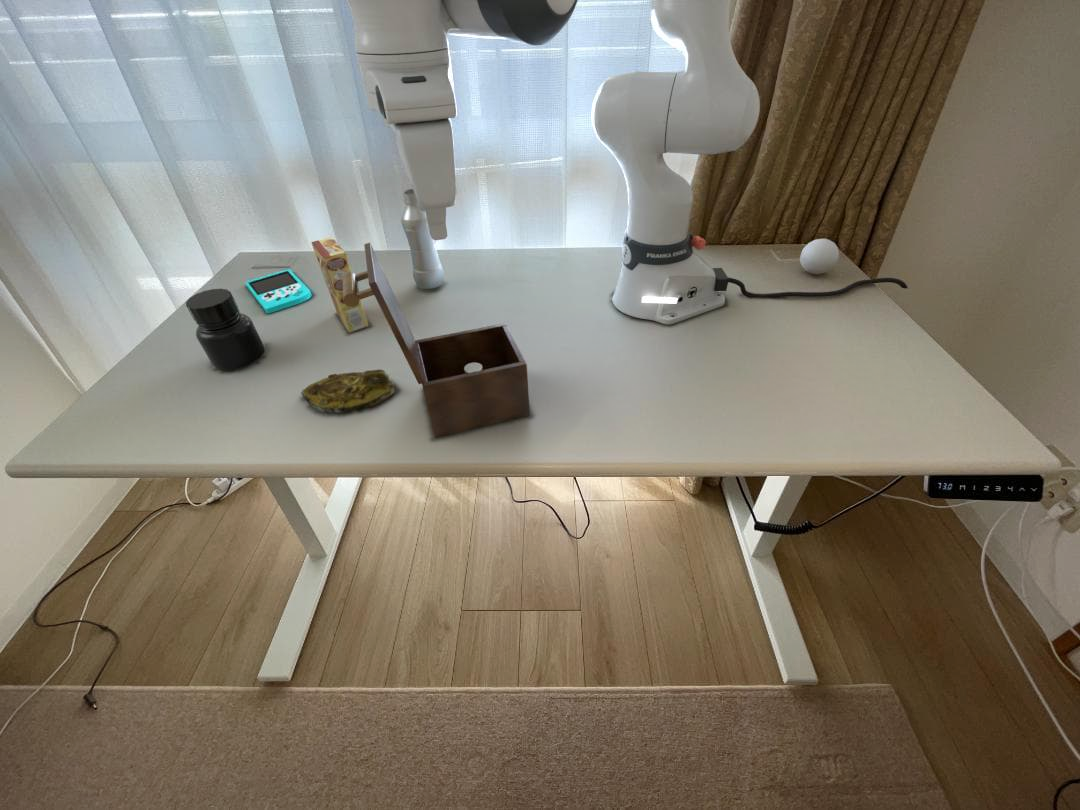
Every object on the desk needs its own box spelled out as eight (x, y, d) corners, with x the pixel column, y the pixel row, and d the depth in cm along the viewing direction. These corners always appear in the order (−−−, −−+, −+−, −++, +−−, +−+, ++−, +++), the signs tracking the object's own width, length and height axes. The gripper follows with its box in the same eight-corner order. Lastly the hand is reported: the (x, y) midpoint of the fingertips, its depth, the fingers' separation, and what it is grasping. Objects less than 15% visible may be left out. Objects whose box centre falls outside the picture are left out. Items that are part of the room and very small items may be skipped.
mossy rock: (298, 422, 77) (395, 411, 78) (286, 402, 73) (387, 391, 74) (309, 380, 83) (398, 371, 84) (298, 360, 80) (392, 350, 81)
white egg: (838, 279, 104) (851, 246, 100) (803, 280, 105) (815, 247, 100) (817, 259, 112) (829, 227, 107) (785, 260, 112) (795, 228, 107)
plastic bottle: (451, 282, 108) (436, 188, 95) (431, 296, 104) (412, 199, 91) (430, 276, 111) (412, 184, 98) (409, 288, 107) (387, 194, 94)
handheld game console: (266, 314, 100) (263, 308, 99) (245, 286, 110) (243, 281, 109) (314, 298, 105) (312, 292, 104) (290, 273, 114) (288, 267, 114)
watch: (484, 410, 75) (479, 380, 71) (466, 410, 75) (460, 380, 71) (488, 386, 79) (484, 356, 75) (471, 386, 79) (466, 356, 76)
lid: (370, 242, 63) (333, 254, 63) (375, 281, 55) (333, 295, 54) (414, 337, 74) (383, 348, 73) (424, 382, 65) (390, 395, 65)
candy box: (369, 326, 96) (347, 251, 86) (348, 333, 94) (322, 258, 84) (355, 308, 101) (333, 235, 91) (335, 314, 100) (309, 241, 89)
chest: (510, 372, 83) (505, 322, 77) (529, 415, 75) (526, 364, 69) (424, 390, 80) (412, 340, 74) (434, 438, 72) (422, 386, 65)
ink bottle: (257, 337, 94) (229, 279, 86) (276, 355, 89) (248, 296, 81) (203, 358, 89) (168, 300, 81) (220, 379, 84) (184, 319, 76)
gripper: (370, 73, 56) (397, 198, 65) (384, 105, 41) (416, 261, 50) (426, 69, 57) (444, 192, 66) (458, 99, 42) (476, 251, 52)
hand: (432, 222), depth 58 cm, fingers open, 8 cm apart
